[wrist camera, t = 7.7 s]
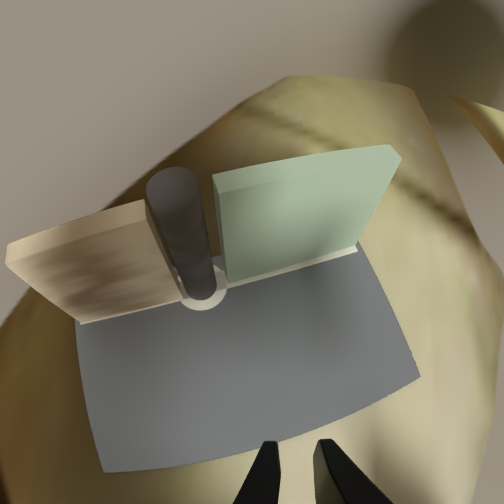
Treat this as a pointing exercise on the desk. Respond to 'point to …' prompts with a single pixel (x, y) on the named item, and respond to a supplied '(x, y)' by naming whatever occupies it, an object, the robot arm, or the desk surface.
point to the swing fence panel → (298, 207)
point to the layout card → (241, 363)
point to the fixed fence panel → (123, 253)
